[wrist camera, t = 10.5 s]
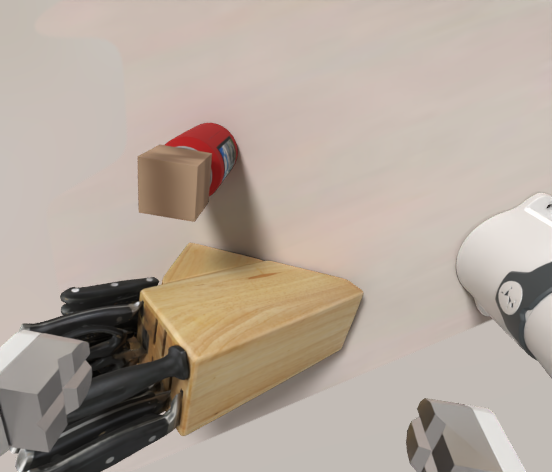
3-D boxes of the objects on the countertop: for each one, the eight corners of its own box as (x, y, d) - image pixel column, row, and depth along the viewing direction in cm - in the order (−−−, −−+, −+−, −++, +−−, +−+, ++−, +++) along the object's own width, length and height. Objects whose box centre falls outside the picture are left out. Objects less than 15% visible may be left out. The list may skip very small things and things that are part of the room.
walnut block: (212, 153, 34) (197, 166, 29) (208, 202, 36) (194, 221, 31) (159, 144, 34) (137, 156, 29) (159, 194, 36) (138, 212, 32)
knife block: (125, 222, 51) (-91, 407, 23) (361, 279, 52) (425, 521, 24) (121, 285, 56) (-60, 502, 28) (338, 336, 57) (369, 593, 29)
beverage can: (222, 184, 48) (198, 219, 37) (177, 155, 46) (139, 182, 36) (248, 142, 45) (231, 165, 34) (202, 110, 44) (168, 124, 33)
